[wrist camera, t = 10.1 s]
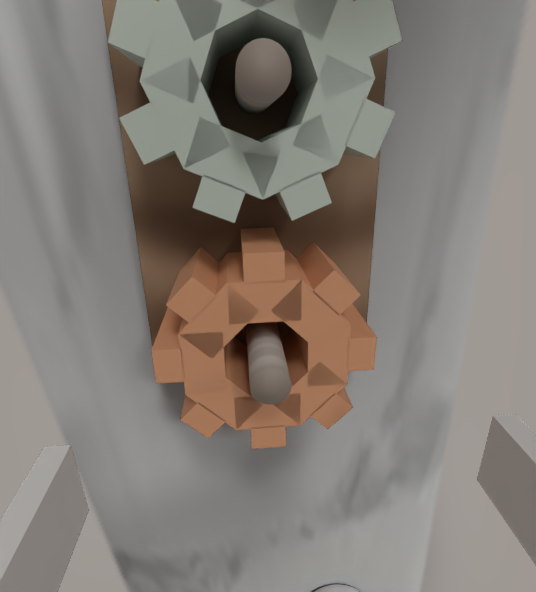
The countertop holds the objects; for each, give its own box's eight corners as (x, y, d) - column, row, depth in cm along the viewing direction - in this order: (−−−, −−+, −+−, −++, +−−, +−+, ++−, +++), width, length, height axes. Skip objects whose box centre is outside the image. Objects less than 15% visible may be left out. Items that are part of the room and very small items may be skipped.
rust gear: (158, 231, 21) (137, 258, 17) (352, 224, 22) (384, 247, 17) (179, 397, 25) (166, 455, 21) (343, 386, 26) (367, 440, 21)
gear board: (113, 7, 19) (21, -94, 11) (377, 7, 20) (480, -87, 12) (163, 365, 27) (131, 470, 18) (354, 354, 27) (407, 448, 19)
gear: (95, 23, 18) (46, -17, 13) (315, -91, 17) (346, -178, 12) (204, 236, 22) (197, 263, 17) (387, 152, 21) (432, 156, 16)
